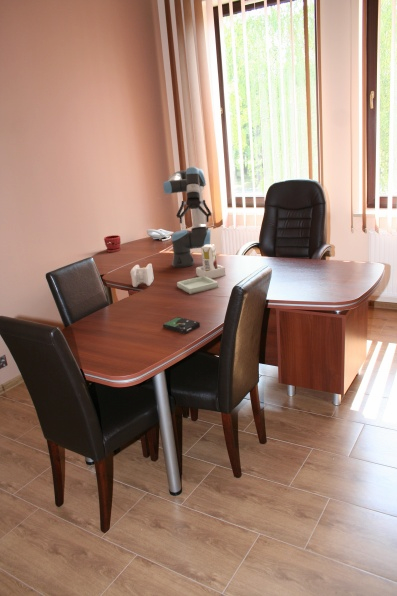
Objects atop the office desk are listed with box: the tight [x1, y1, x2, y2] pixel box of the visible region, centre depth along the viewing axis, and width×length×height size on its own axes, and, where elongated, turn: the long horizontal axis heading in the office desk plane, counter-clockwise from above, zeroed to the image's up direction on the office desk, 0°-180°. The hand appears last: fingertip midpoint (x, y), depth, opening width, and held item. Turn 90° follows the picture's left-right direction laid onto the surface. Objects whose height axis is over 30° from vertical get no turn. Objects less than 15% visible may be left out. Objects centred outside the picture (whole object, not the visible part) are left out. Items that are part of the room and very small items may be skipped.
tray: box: [176, 276, 219, 295], centre depth 285 cm, size 18×18×3 cm
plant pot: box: [103, 234, 122, 253], centre depth 404 cm, size 13×13×12 cm
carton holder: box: [195, 263, 226, 280], centre depth 305 cm, size 13×13×5 cm
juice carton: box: [200, 243, 218, 271], centre depth 303 cm, size 8×9×19 cm
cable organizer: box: [129, 263, 155, 288], centre depth 301 cm, size 15×11×12 cm
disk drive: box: [162, 316, 201, 335], centre depth 229 cm, size 10×3×15 cm
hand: (194, 228), depth 283 cm, fingers open, 13 cm apart
